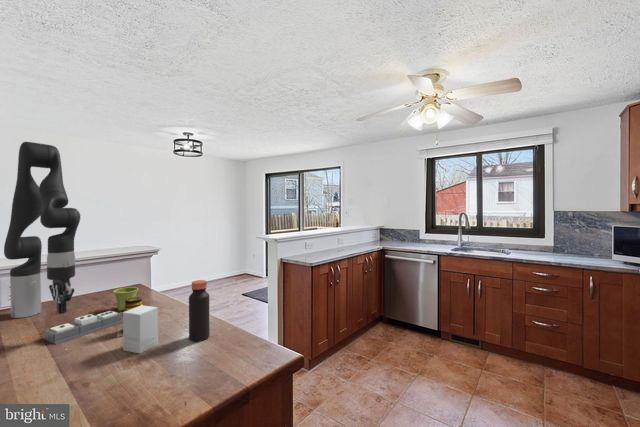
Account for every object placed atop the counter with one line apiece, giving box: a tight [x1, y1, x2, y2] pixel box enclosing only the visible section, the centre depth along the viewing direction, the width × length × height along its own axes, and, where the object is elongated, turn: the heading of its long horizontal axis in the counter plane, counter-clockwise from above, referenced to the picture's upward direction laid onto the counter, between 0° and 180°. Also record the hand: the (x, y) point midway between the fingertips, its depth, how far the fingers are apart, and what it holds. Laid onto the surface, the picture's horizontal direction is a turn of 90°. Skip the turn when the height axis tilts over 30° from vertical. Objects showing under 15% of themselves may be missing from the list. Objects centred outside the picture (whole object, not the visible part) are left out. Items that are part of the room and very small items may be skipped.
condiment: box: [116, 296, 143, 338], centre depth 110 cm, size 7×8×12 cm
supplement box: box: [122, 304, 159, 355], centre depth 98 cm, size 7×7×13 cm
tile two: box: [74, 313, 97, 326], centre depth 111 cm, size 5×5×3 cm
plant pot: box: [113, 286, 139, 312], centre depth 134 cm, size 9×9×9 cm
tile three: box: [96, 310, 118, 319], centre depth 118 cm, size 5×5×3 cm
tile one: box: [49, 322, 74, 333], centre depth 105 cm, size 5×5×3 cm
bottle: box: [188, 279, 210, 342], centre depth 105 cm, size 7×7×20 cm
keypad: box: [41, 310, 123, 345], centre depth 111 cm, size 10×22×3 cm, turn 153°
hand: (61, 312), depth 105 cm, fingers closed
